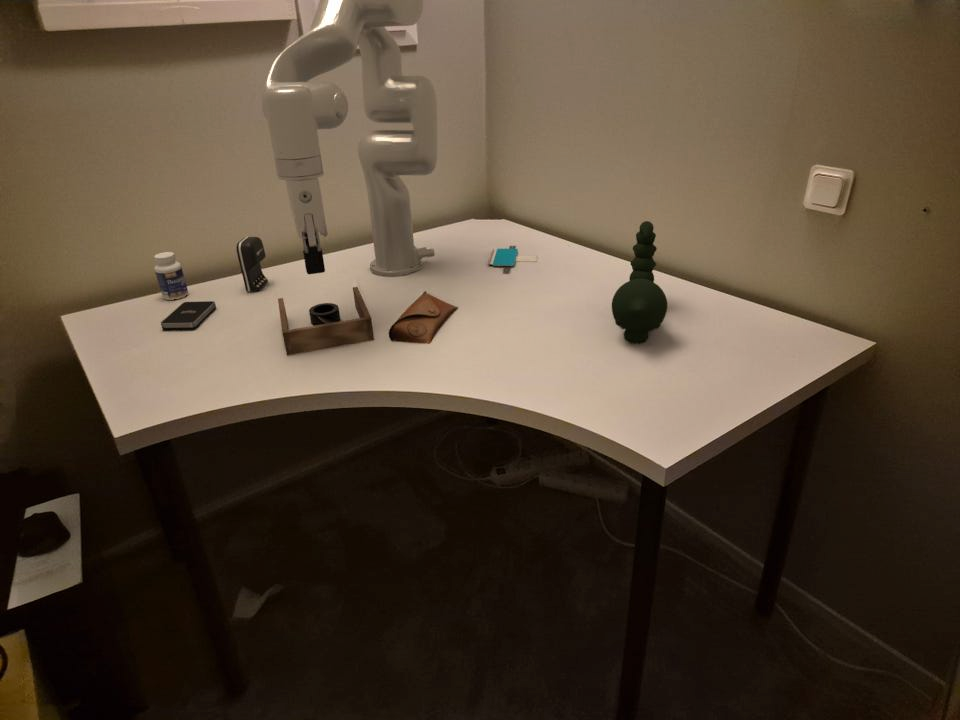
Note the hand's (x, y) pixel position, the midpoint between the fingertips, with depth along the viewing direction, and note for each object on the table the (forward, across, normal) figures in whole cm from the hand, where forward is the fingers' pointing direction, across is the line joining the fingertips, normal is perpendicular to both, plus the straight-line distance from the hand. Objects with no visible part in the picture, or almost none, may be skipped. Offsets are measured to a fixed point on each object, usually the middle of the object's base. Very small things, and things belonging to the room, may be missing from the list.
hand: (315, 271), depth 113 cm
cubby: (+13, +5, 0) cm, 14 cm away
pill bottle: (+13, +36, +30) cm, 48 cm away
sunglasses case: (+14, 0, -19) cm, 24 cm away
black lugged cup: (+14, +9, -1) cm, 16 cm away
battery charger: (+13, +34, +12) cm, 38 cm away
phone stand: (+13, +27, -48) cm, 57 cm away
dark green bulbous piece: (+13, -18, -56) cm, 61 cm away
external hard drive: (+14, +20, +26) cm, 36 cm away
